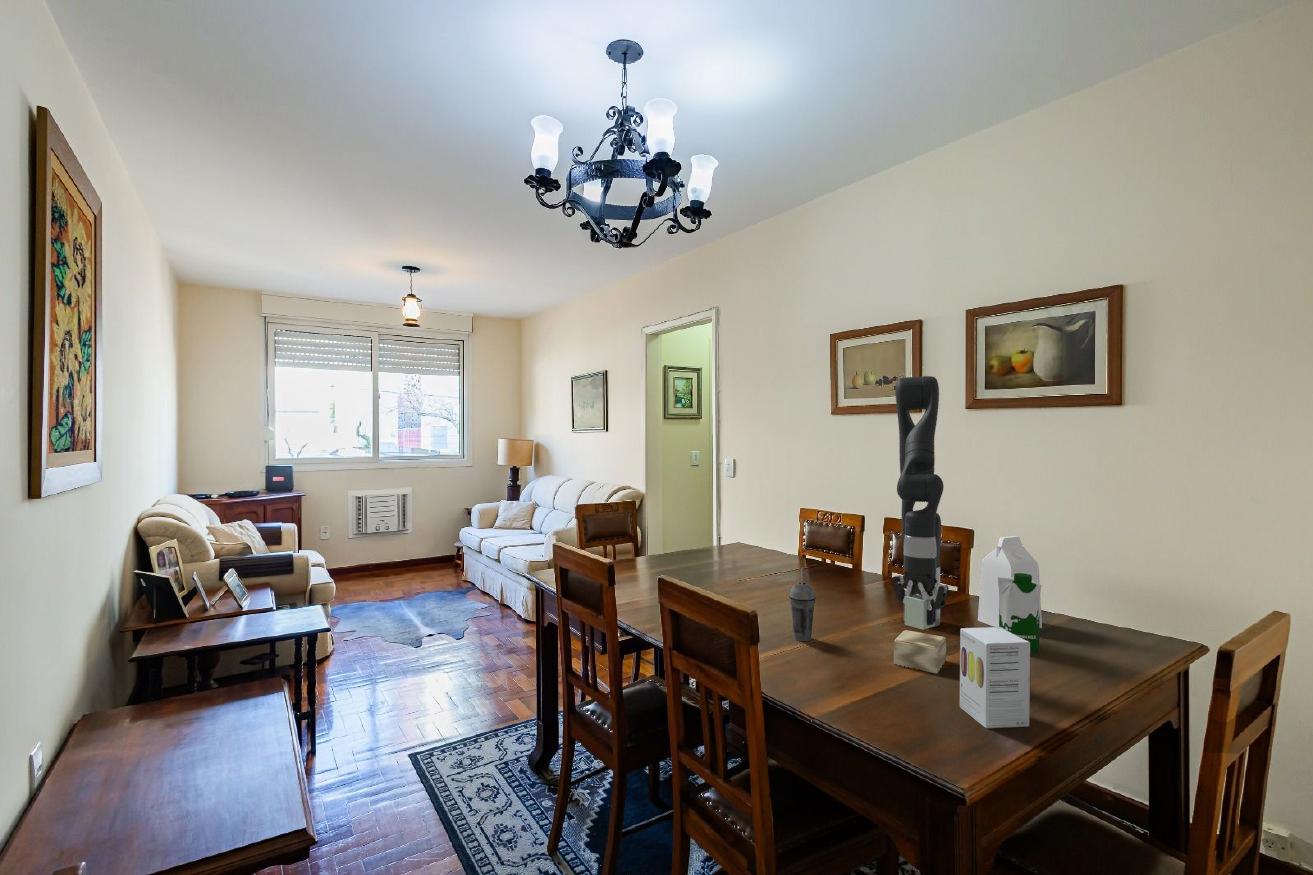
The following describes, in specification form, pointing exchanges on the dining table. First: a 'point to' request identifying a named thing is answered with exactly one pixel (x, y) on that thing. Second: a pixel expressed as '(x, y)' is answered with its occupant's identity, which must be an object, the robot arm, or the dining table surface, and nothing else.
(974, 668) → the supplement box
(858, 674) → the dining table surface
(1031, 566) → the milk
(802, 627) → the beverage cup
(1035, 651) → the milk carton
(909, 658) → the beige box
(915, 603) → the block
